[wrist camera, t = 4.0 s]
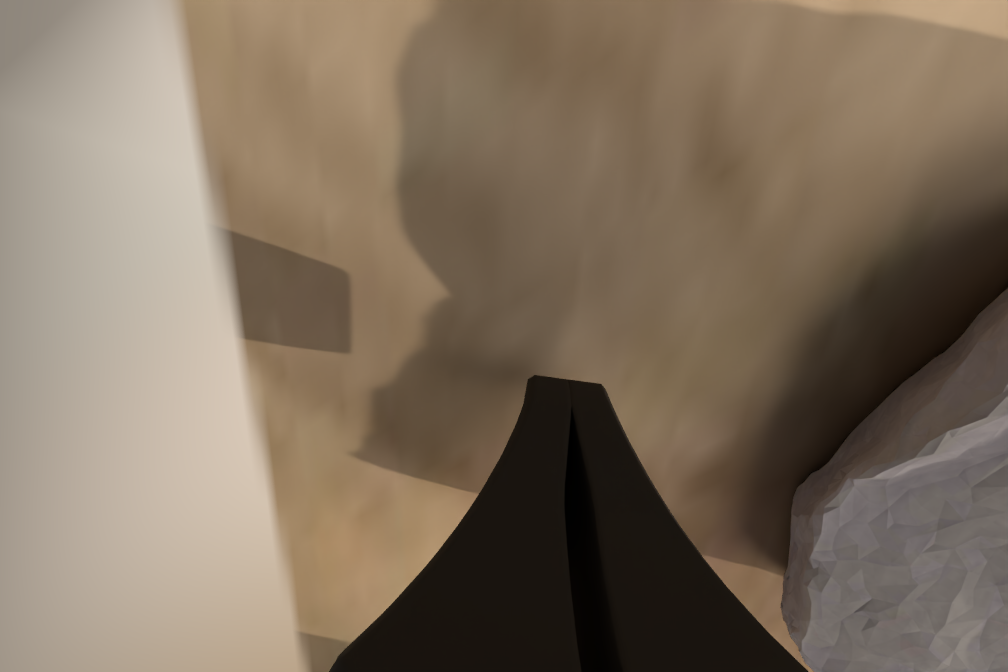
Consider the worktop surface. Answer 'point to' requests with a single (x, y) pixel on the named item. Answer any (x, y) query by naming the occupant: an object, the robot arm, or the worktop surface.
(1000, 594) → the grey rock
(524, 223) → the worktop surface
